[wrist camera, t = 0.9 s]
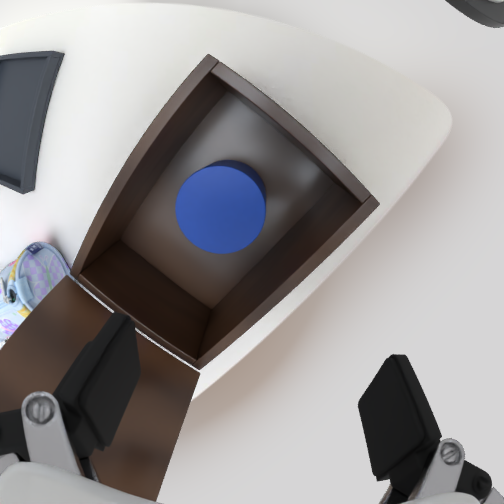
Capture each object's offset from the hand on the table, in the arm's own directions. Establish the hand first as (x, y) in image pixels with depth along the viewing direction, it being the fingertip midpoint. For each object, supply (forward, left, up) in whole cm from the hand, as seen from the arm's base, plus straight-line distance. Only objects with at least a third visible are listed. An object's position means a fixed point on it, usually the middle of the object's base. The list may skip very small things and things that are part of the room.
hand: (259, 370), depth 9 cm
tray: (-3, -32, -16) cm, 35 cm away
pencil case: (+18, -26, -16) cm, 35 cm away
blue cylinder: (-2, -4, -15) cm, 15 cm away
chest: (0, -4, -16) cm, 16 cm away
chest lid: (+9, -8, +2) cm, 12 cm away
